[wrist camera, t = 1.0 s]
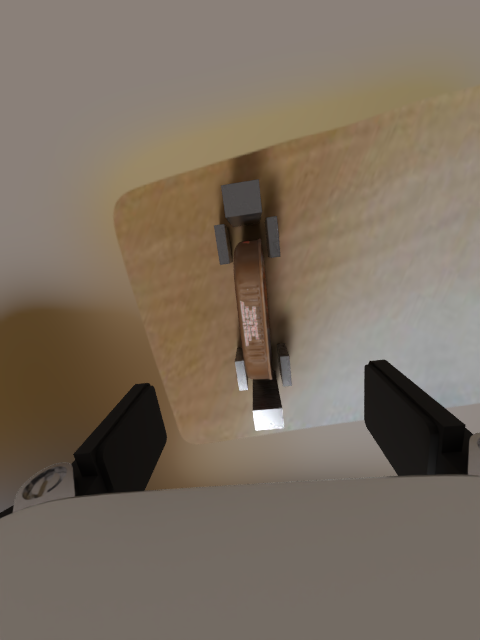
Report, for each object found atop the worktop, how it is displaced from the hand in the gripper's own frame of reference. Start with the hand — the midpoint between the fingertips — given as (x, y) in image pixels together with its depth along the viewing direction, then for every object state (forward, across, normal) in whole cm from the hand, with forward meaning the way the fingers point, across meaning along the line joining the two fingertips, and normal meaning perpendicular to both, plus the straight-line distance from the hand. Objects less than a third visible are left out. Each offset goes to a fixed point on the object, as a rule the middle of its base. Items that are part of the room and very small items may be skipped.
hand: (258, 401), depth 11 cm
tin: (+20, 0, 0) cm, 20 cm away
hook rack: (+20, 0, 0) cm, 20 cm away
